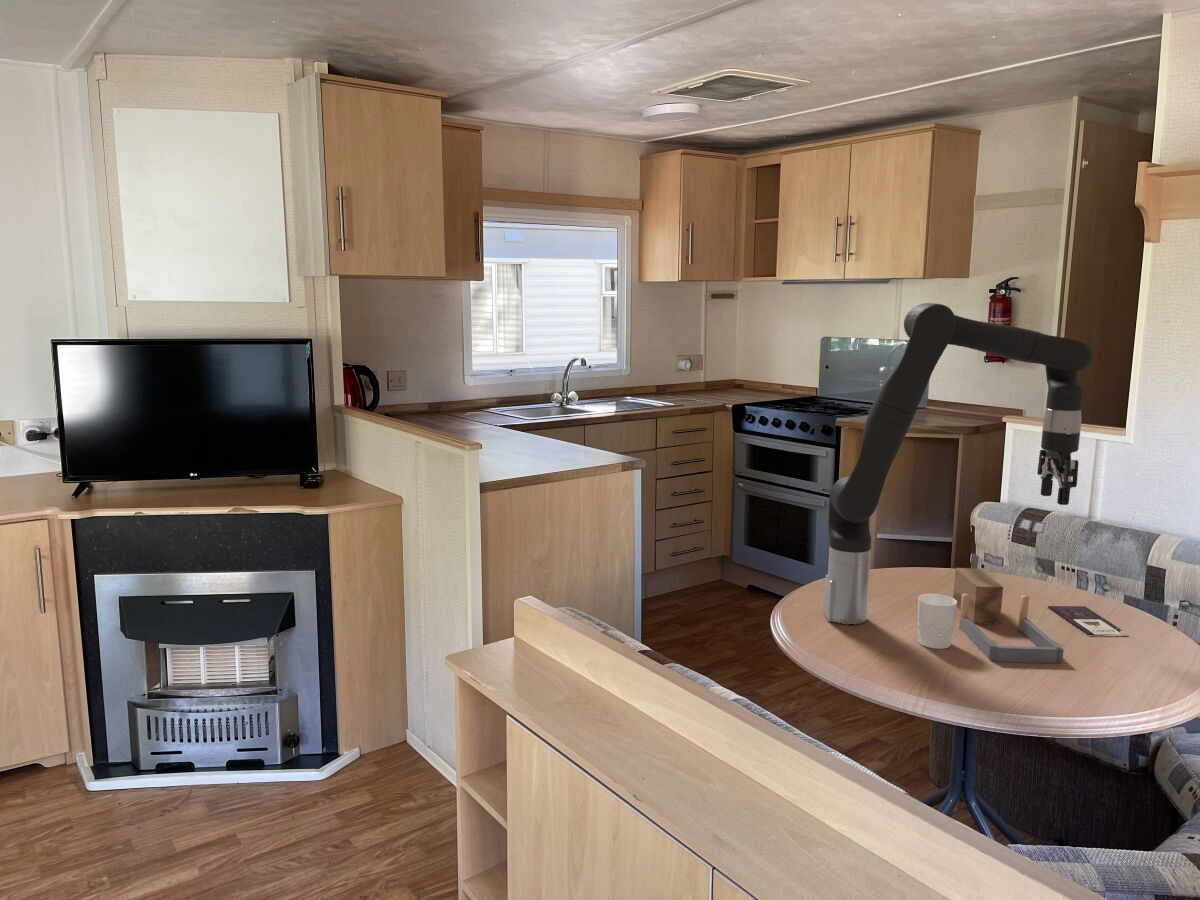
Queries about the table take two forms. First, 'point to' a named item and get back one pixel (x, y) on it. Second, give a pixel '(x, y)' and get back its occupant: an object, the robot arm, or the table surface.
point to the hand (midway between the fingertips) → (1054, 500)
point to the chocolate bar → (1085, 620)
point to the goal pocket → (1040, 654)
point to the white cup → (936, 620)
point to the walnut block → (979, 595)
